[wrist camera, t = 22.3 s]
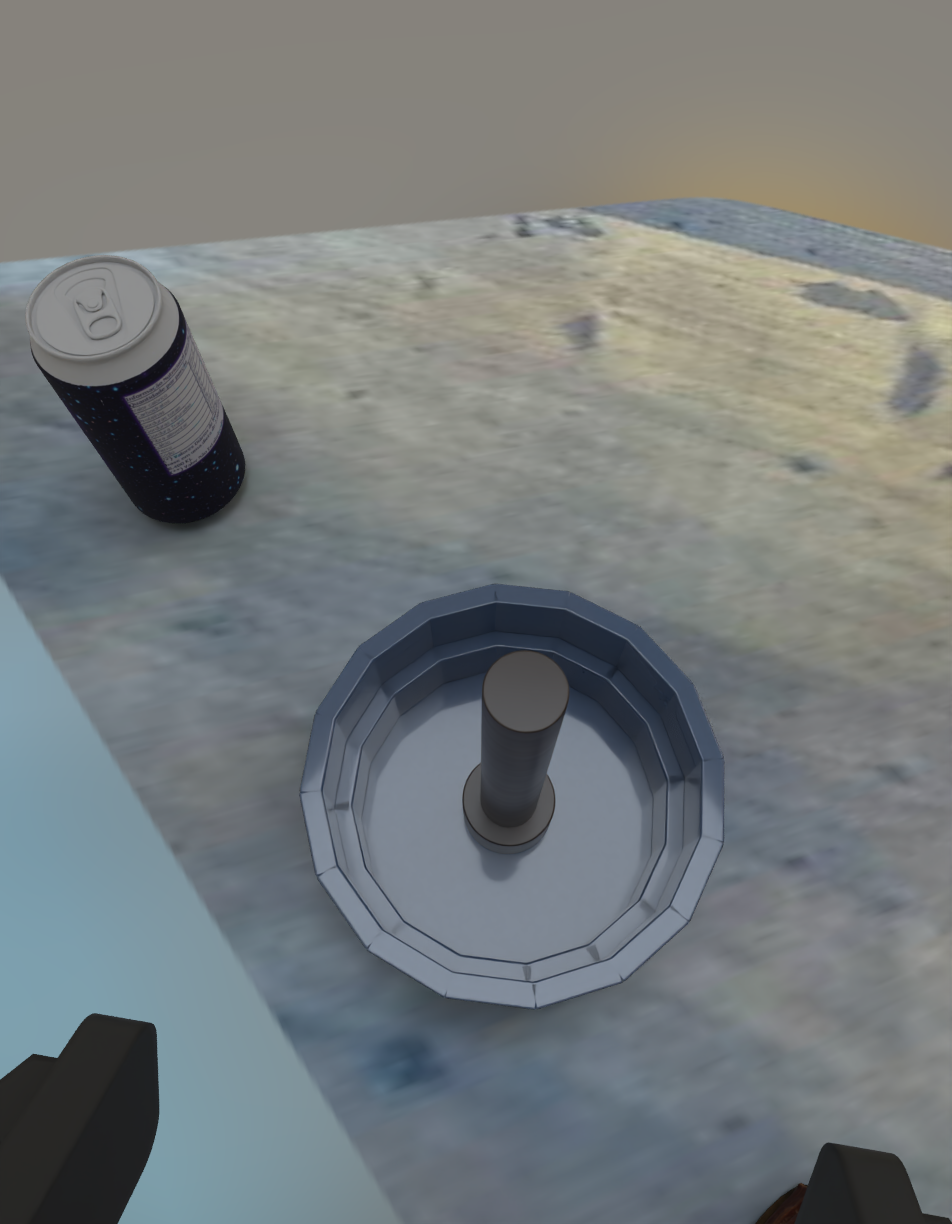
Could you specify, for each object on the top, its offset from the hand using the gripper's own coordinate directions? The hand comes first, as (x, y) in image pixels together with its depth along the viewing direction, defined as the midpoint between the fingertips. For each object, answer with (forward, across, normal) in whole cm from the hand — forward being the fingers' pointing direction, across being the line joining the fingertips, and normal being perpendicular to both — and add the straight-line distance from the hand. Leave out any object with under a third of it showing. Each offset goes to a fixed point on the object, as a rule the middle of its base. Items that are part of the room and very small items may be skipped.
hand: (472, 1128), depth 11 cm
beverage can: (+33, +18, +2) cm, 38 cm away
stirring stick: (+23, 0, +11) cm, 25 cm away
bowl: (+24, 0, +11) cm, 26 cm away
